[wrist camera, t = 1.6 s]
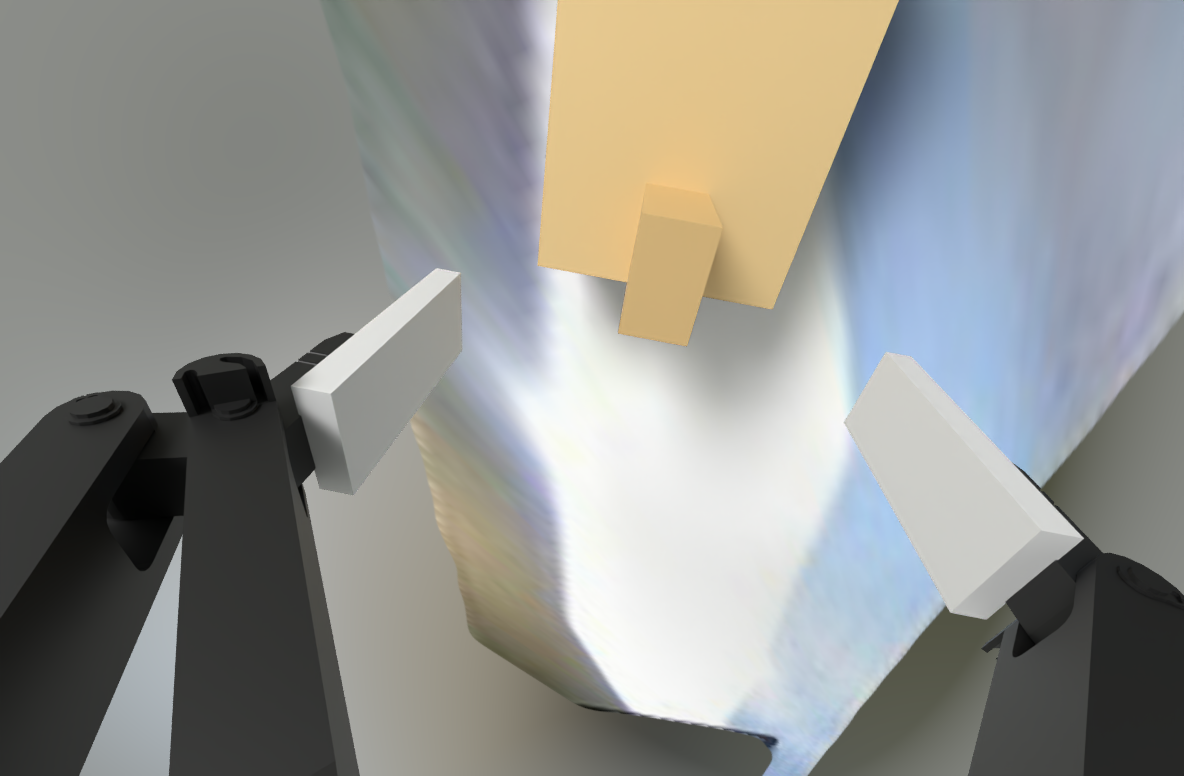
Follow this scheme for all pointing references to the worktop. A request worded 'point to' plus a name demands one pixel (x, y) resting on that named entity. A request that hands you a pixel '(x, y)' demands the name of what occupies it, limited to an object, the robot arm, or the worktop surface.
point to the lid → (696, 144)
